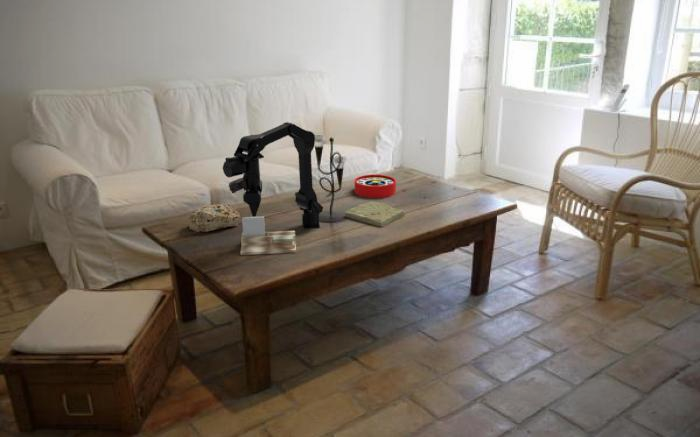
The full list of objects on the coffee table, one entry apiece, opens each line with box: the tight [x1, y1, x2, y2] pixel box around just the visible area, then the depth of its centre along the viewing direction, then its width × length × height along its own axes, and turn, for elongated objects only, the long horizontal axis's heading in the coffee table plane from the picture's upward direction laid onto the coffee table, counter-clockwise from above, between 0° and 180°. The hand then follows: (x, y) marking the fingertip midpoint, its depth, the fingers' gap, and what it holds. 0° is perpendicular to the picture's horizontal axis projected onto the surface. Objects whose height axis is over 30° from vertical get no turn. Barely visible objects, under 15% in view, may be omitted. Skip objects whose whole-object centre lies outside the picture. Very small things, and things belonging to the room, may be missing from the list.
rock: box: [188, 203, 241, 233], centre depth 235 cm, size 21×14×10 cm
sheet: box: [241, 215, 266, 237], centre depth 215 cm, size 8×2×10 cm, turn 96°
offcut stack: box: [270, 235, 296, 249], centre depth 212 cm, size 9×4×4 cm, turn 96°
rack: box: [240, 230, 297, 256], centre depth 215 cm, size 20×14×4 cm
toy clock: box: [354, 174, 397, 199], centre depth 278 cm, size 20×6×20 cm
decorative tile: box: [344, 200, 405, 228], centre depth 246 cm, size 19×20×4 cm
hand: (254, 212), depth 213 cm, fingers open, 9 cm apart
